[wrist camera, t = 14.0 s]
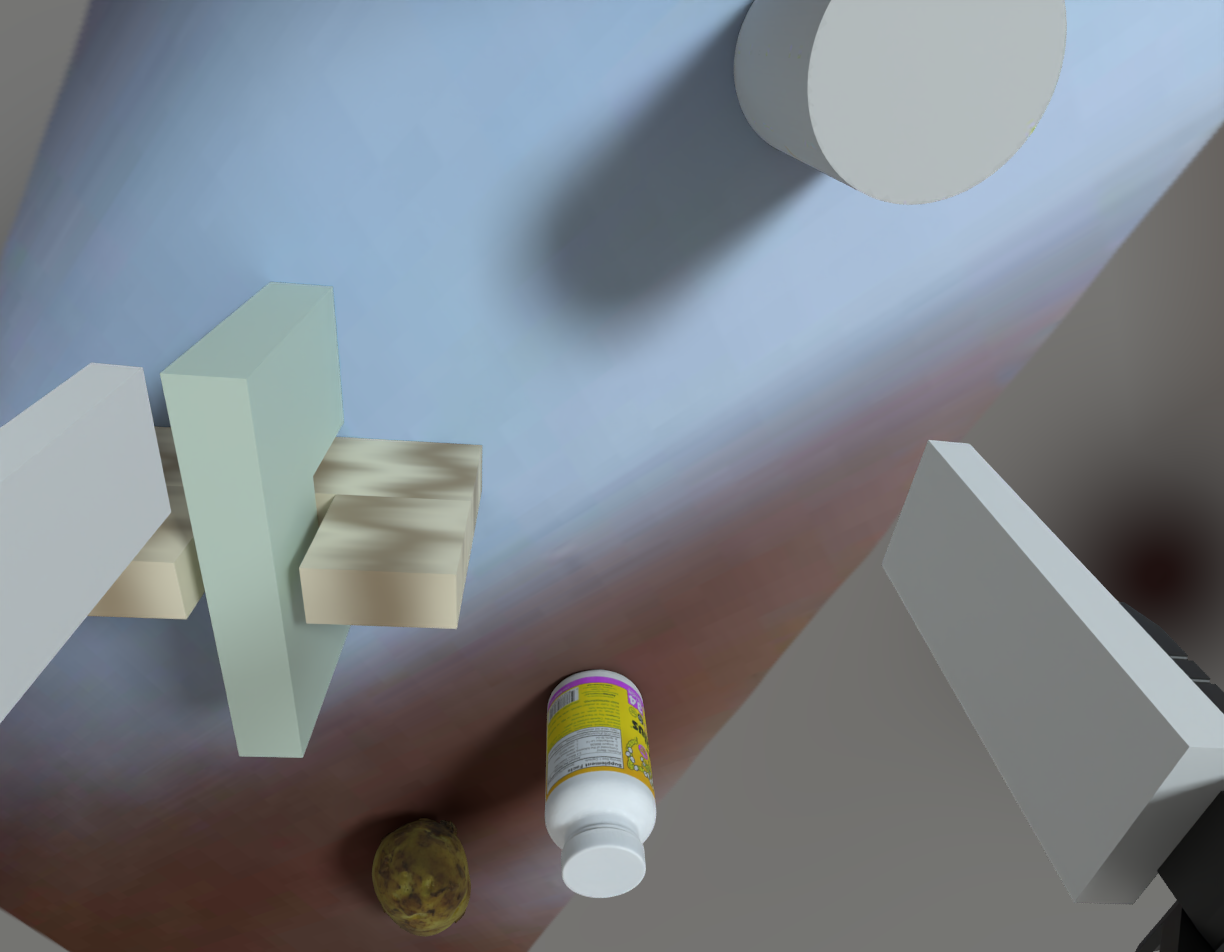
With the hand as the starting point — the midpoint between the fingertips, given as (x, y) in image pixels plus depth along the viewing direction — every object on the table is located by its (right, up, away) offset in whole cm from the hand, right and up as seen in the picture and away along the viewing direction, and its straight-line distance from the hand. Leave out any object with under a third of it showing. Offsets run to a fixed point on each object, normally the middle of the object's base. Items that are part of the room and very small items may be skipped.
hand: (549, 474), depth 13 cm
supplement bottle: (0, -15, +40) cm, 43 cm away
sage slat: (-15, +1, +30) cm, 33 cm away
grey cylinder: (+11, +19, +21) cm, 30 cm away
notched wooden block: (-15, +1, +30) cm, 33 cm away
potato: (-13, -28, +47) cm, 56 cm away
